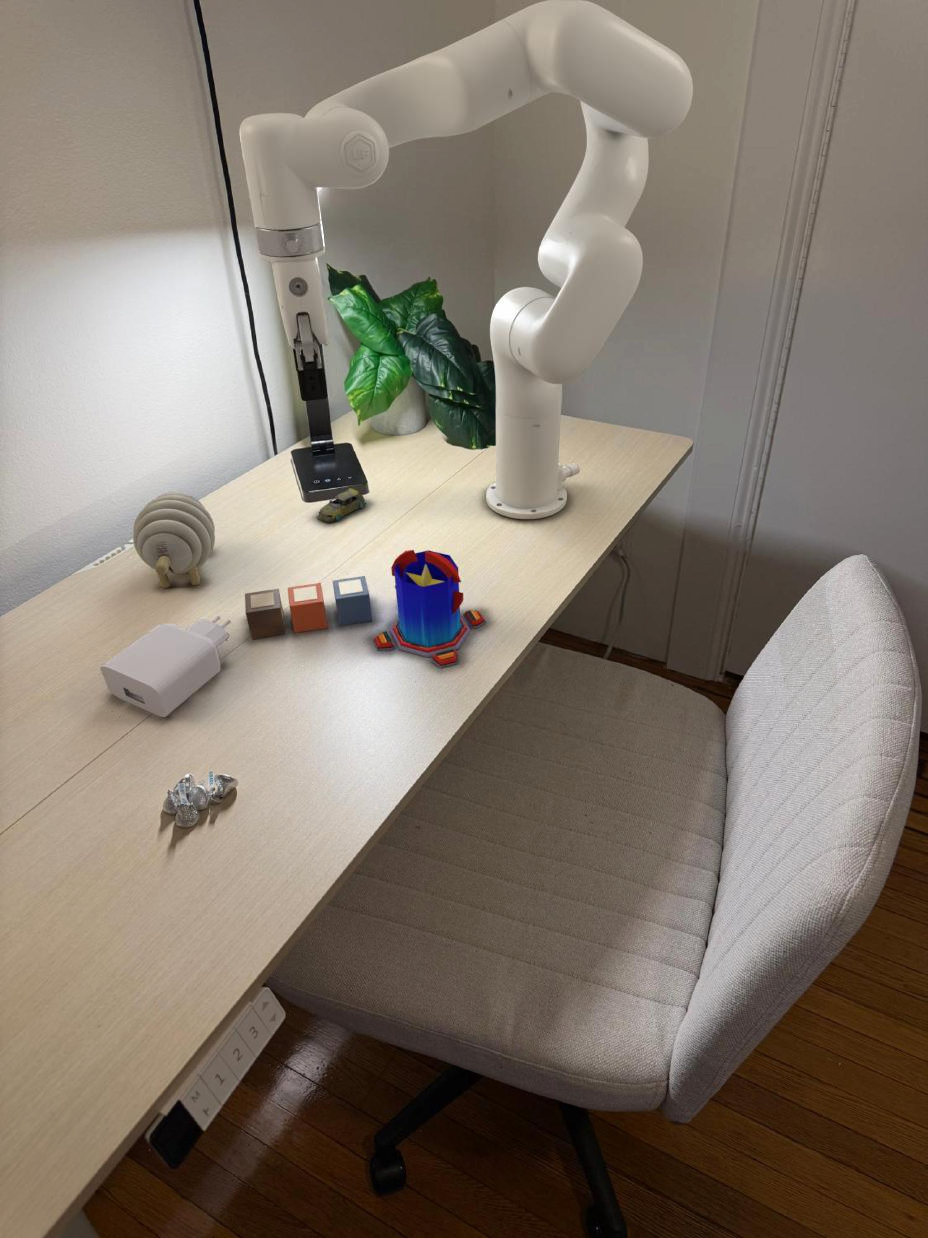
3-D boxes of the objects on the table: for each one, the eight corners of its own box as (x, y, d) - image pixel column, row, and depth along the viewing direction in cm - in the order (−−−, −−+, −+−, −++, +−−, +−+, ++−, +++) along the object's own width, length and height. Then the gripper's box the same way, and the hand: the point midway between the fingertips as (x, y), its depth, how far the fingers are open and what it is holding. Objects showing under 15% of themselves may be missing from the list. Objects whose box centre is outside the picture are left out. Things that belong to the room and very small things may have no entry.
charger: (256, 644, 101) (167, 720, 91) (201, 623, 105) (109, 694, 95) (249, 614, 99) (156, 689, 88) (192, 593, 102) (97, 663, 92)
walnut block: (284, 614, 106) (278, 587, 104) (285, 634, 103) (280, 607, 100) (251, 619, 106) (244, 592, 103) (251, 639, 102) (245, 612, 100)
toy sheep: (225, 536, 122) (209, 469, 115) (220, 602, 109) (201, 530, 102) (152, 545, 121) (131, 477, 114) (137, 612, 107) (113, 541, 101)
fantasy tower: (365, 647, 100) (355, 566, 93) (409, 595, 109) (403, 516, 102) (453, 671, 96) (449, 589, 89) (491, 615, 105) (491, 535, 98)
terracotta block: (325, 608, 107) (320, 581, 104) (327, 627, 104) (323, 600, 101) (292, 613, 106) (287, 586, 104) (294, 633, 103) (289, 605, 100)
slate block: (368, 601, 108) (364, 575, 105) (372, 620, 105) (369, 593, 102) (336, 606, 107) (332, 579, 105) (339, 625, 104) (335, 598, 101)
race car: (314, 517, 126) (311, 503, 124) (353, 497, 130) (351, 483, 129) (329, 525, 124) (327, 510, 122) (368, 504, 128) (367, 490, 127)
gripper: (330, 256, 88) (348, 407, 98) (317, 221, 101) (334, 358, 112) (259, 262, 87) (285, 414, 97) (255, 226, 100) (278, 363, 110)
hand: (311, 384), depth 104 cm, fingers open, 9 cm apart
